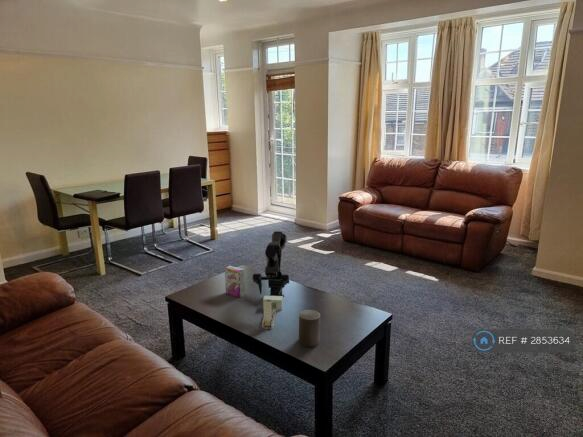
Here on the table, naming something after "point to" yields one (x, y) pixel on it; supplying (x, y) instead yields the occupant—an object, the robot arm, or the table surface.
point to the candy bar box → (235, 281)
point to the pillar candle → (309, 328)
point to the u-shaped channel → (271, 322)
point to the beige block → (268, 312)
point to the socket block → (275, 302)
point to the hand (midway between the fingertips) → (269, 294)
